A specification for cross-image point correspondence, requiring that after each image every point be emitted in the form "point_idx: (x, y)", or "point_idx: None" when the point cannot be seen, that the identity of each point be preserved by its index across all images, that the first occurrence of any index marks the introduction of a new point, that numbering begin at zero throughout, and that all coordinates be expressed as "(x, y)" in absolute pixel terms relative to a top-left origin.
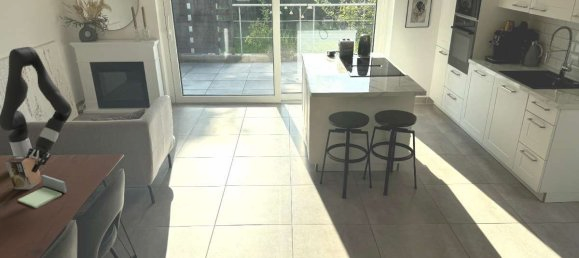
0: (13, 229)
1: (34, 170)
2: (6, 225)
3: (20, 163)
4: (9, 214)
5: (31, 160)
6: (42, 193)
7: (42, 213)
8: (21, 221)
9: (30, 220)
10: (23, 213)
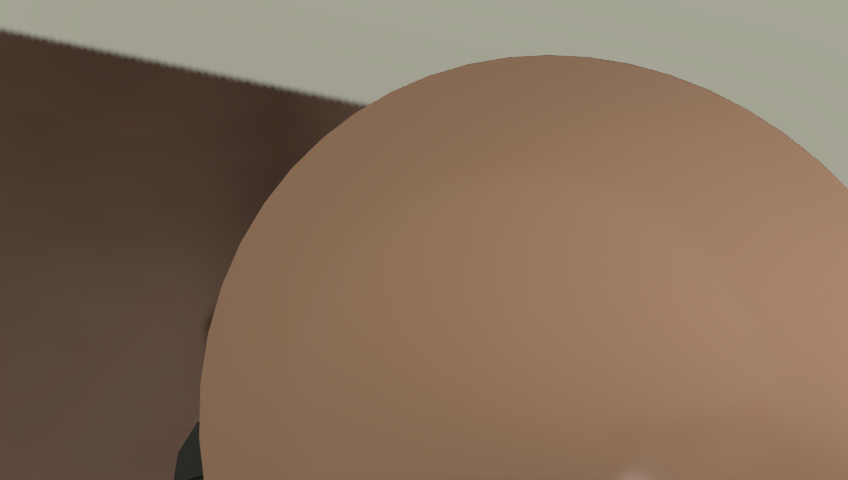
0: (4, 86)
1: (187, 440)
2: (135, 63)
3: None
4: (321, 125)
5: (358, 477)
6: None
7: (37, 360)
8: (80, 166)
9: (14, 230)
10: (223, 219)
